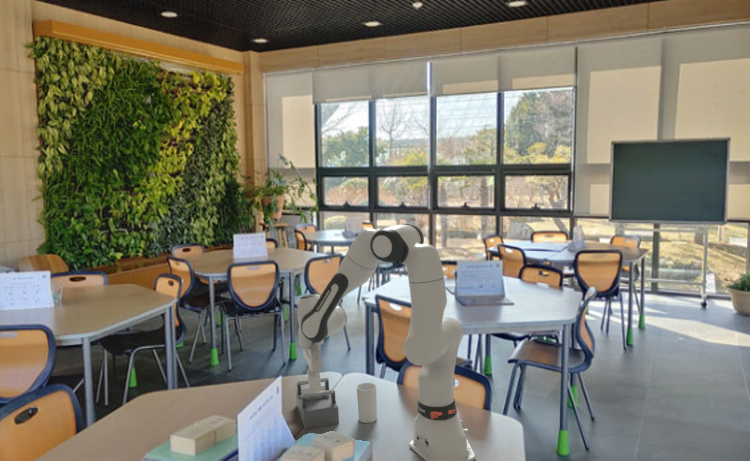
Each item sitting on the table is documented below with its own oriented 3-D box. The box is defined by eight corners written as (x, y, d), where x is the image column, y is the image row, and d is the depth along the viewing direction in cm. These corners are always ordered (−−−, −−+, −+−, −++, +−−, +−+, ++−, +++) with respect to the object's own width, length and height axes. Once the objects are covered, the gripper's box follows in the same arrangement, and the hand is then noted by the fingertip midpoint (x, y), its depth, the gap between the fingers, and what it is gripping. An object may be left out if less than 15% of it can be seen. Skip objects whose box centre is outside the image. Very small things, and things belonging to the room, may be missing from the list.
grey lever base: (339, 423, 196) (337, 393, 195) (304, 429, 193) (302, 399, 192) (328, 400, 215) (326, 373, 214) (296, 405, 212) (295, 378, 211)
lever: (322, 396, 202) (319, 364, 205) (310, 398, 201) (307, 366, 204) (321, 396, 205) (318, 365, 208) (309, 398, 204) (306, 366, 207)
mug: (375, 424, 194) (373, 390, 193) (356, 423, 196) (354, 390, 194) (380, 411, 204) (379, 379, 203) (362, 410, 206) (361, 378, 204)
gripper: (325, 346, 192) (327, 385, 194) (314, 329, 212) (316, 365, 214) (307, 348, 191) (308, 388, 192) (298, 331, 210) (299, 367, 212)
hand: (312, 375), depth 203 cm, fingers closed
